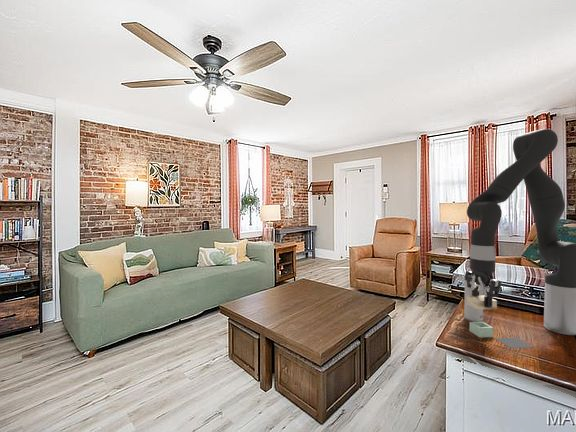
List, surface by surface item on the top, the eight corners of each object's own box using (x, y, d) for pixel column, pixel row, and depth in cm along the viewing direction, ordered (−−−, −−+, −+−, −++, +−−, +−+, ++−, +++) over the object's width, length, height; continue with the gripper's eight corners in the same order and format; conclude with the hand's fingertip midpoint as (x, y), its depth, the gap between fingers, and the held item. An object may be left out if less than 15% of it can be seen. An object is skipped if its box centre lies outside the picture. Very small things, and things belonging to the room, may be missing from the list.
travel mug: (486, 324, 108) (487, 274, 107) (468, 323, 109) (469, 273, 109) (479, 317, 114) (480, 270, 113) (461, 316, 116) (462, 269, 115)
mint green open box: (482, 332, 102) (482, 321, 102) (493, 338, 97) (493, 327, 97) (469, 332, 102) (469, 322, 101) (479, 339, 97) (479, 328, 96)
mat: (516, 339, 96) (517, 337, 96) (534, 348, 90) (534, 347, 90) (494, 339, 96) (494, 338, 96) (510, 349, 89) (510, 347, 89)
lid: (485, 303, 101) (485, 295, 101) (496, 309, 96) (497, 300, 96) (466, 303, 101) (466, 295, 101) (477, 309, 96) (477, 301, 96)
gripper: (509, 261, 91) (508, 311, 92) (478, 253, 105) (477, 297, 106) (487, 261, 91) (486, 312, 91) (458, 254, 105) (458, 297, 106)
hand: (481, 303), depth 99 cm, fingers closed on lid, 5 cm apart
